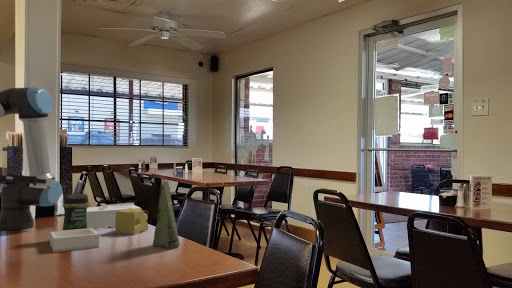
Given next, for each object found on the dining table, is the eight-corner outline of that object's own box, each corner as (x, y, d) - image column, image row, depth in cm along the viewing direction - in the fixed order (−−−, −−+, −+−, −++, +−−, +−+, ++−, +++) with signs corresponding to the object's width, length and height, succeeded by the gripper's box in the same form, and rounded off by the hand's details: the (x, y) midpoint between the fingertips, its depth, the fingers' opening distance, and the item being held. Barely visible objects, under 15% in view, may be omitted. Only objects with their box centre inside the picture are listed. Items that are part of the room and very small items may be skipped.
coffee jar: (64, 242, 160) (65, 195, 161) (60, 239, 167) (61, 193, 167) (89, 239, 166) (90, 194, 166) (85, 236, 172) (85, 192, 173)
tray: (49, 244, 157) (50, 231, 157) (92, 240, 165) (92, 228, 165) (53, 252, 145) (53, 238, 146) (98, 247, 154) (99, 234, 154)
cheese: (148, 230, 186) (148, 209, 186) (134, 235, 176) (134, 212, 176) (129, 229, 189) (129, 207, 189) (114, 233, 179) (114, 210, 179)
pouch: (161, 251, 149) (163, 183, 149) (143, 246, 157) (145, 181, 157) (186, 246, 157) (187, 181, 157) (168, 241, 165) (169, 179, 165)
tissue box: (81, 225, 198) (81, 203, 198) (132, 221, 212) (132, 200, 212) (86, 230, 186) (87, 206, 186) (140, 225, 200) (141, 203, 200)
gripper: (-17, 189, 160) (42, 195, 172) (-10, 185, 140) (56, 191, 153) (-13, 170, 161) (45, 177, 174) (-5, 163, 142) (60, 172, 155)
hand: (51, 184), depth 164 cm, fingers open, 13 cm apart
